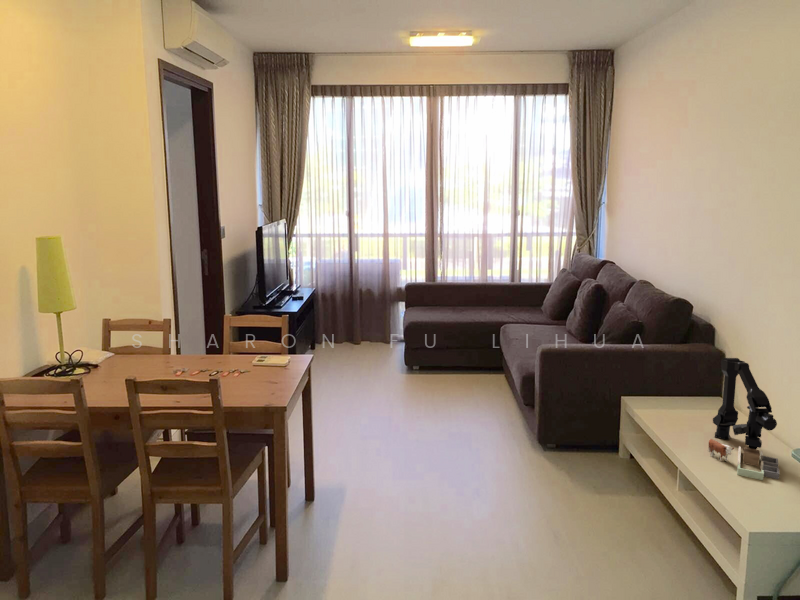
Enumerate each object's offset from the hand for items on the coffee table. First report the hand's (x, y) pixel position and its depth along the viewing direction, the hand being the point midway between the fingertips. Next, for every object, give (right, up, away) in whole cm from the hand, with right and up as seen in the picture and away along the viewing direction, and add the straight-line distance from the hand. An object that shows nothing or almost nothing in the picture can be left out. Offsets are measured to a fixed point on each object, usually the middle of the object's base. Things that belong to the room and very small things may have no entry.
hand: (750, 454), depth 286 cm
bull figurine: (-15, -2, -2) cm, 15 cm away
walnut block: (-2, -2, -4) cm, 5 cm away
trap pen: (-2, -3, -9) cm, 10 cm away
